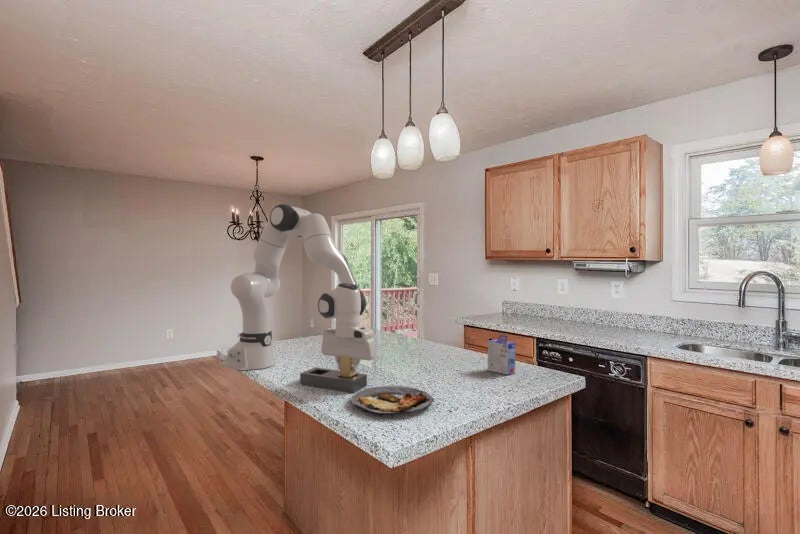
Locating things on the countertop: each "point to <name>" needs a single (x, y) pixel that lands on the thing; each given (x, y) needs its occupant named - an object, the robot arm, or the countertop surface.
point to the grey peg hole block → (332, 380)
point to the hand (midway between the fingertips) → (347, 370)
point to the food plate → (392, 399)
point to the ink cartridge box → (501, 356)
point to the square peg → (346, 367)
